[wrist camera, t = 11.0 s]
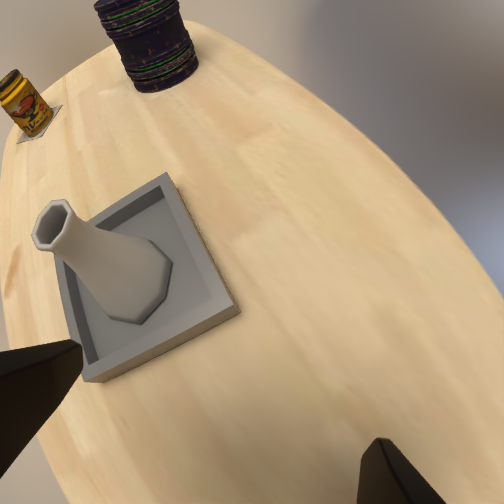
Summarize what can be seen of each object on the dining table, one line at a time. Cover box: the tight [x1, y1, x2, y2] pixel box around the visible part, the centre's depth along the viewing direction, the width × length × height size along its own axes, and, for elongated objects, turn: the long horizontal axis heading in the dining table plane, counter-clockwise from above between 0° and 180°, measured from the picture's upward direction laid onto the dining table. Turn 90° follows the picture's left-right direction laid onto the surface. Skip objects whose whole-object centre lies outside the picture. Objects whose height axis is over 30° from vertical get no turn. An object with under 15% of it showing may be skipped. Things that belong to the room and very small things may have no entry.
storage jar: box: [94, 0, 198, 93], centre depth 29 cm, size 10×10×15 cm
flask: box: [31, 199, 172, 324], centre depth 18 cm, size 7×7×10 cm
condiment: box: [0, 69, 62, 144], centre depth 33 cm, size 7×8×12 cm
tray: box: [54, 172, 240, 383], centre depth 23 cm, size 13×13×2 cm
